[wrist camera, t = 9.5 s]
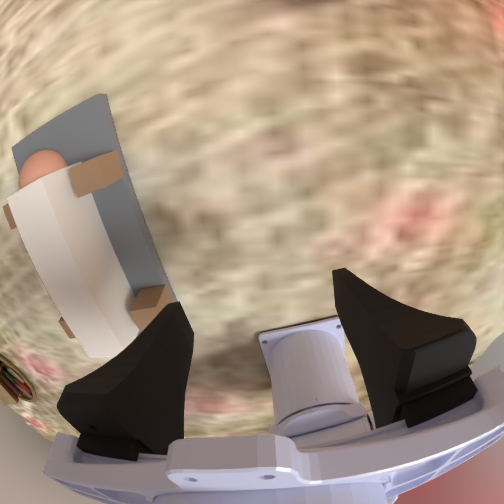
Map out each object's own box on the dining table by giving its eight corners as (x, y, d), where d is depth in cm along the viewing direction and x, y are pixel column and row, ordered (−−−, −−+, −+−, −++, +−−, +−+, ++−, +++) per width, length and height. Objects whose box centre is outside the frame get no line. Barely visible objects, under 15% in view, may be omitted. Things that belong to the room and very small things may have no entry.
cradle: (194, 333, 26) (188, 366, 22) (107, 343, 27) (94, 371, 23) (108, 93, 16) (79, 90, 13) (18, 146, 17) (-13, 155, 14)
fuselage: (145, 315, 24) (128, 356, 19) (109, 320, 24) (90, 358, 19) (74, 136, 17) (32, 147, 12) (39, 156, 17) (-2, 171, 12)
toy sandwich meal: (50, 401, 35) (41, 421, 31) (12, 392, 36) (3, 409, 32) (8, 349, 29) (-6, 369, 25) (-24, 346, 30) (-36, 362, 26)
